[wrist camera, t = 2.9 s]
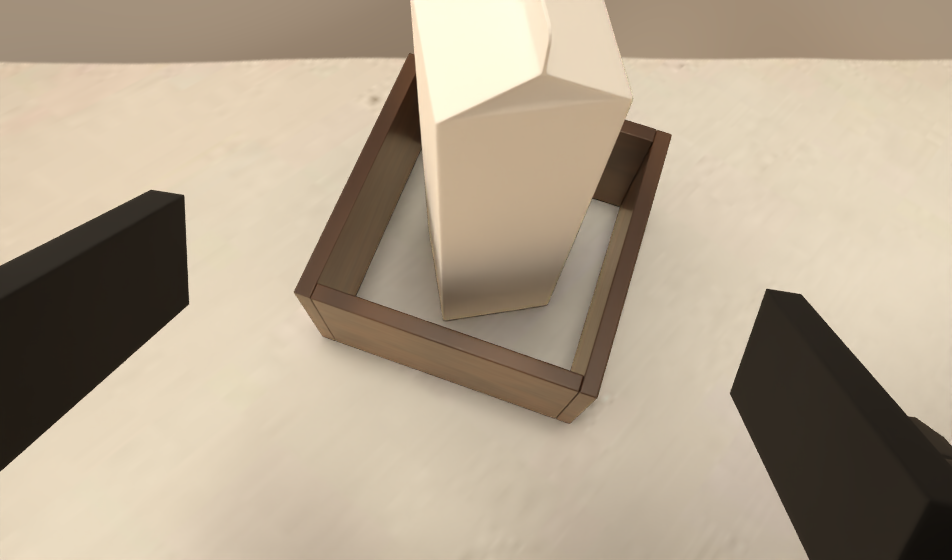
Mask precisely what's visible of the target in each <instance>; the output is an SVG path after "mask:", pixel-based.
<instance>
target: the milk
mask: <svg viewBox="0 0 952 560" xmlns="http://www.w3.org/2000/svg"><path fill="white" fill-rule="evenodd" d="M410 1H411V13H412V27H413V40H414V53H415V65H416V78H417V91H418V104H419V116H420V129H421V142H422V155H423V167H424V180H425V193H426V206H427V218H428V228H429V235H430V241H431V247H432V254H433V260H434V266H435V272H436V279H437V285H438V291H439V298H440V304H441V310H442V316H443V320H452V319H459V318H465V317H472V316H479V315H485V314H492V313H498V312H505V311H512V310H518V309H525V308H531V307H538V306H545V305H548V303H549V300H550V298H551V296H552V293H553V291H554V288H555V286H556V284H557V281H558V279H559V277H560V274H561V272H562V269H563V267H564V265H565V262H566V260H567V257H568V255H569V253H570V250H571V248H572V245H573V243H574V241H575V238H576V236H577V233H578V231H579V229H580V226H581V224H582V221H583V219H584V217H585V214H586V212H587V209H588V207H589V205H590V202H591V200H592V197H593V195H594V193H595V190H596V188H597V185H598V183H599V181H600V178H601V176H602V173H603V171H604V169H605V166H606V164H607V161H608V159H609V157H610V154H611V152H612V149H613V147H614V145H615V142H616V140H617V137H618V135H619V133H620V130H621V128H622V125H623V123H624V121H625V118H626V116H627V113H628V111H629V109H630V106H631V104H632V101H633V95H632V91H631V88H630V85H629V82H628V78H627V75H626V72H625V68H624V65H623V62H622V58H621V55H620V52H619V49H618V45H617V42H616V39H615V35H614V32H613V29H612V26H611V23H610V19H609V16H608V12H607V9H606V6H605V2H604V0H410Z"/></svg>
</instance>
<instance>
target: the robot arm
mask: <svg viewBox="0 0 952 560" xmlns="http://www.w3.org/2000/svg"><path fill="white" fill-rule="evenodd" d="M188 305H189V292H188V269H187V246H186V224H185V201H184V195H180V194H174V193H168V192H162V191H155V190H150V191H148V192H146V193H144V194H142V195H140V196H138V197H136V198H134V199H132V200H130V201H128V202H126V203H124V204H122V205H120V206H118V207H116V208H114V209H112V210H110V211H108V212H106V213H104V214H102V215H100V216H98V217H96V218H94V219H92V220H90V221H88V222H86V223H84V224H82V225H80V226H78V227H76V228H74V229H72V230H70V231H68V232H66V233H64V234H62V235H60V236H59V237H57V238H55V239H53V240H51V241H49V242H47V243H45V244H43V245H41V246H39V247H37V248H35V249H33V250H31V251H29V252H27V253H25V254H23V255H21V256H19V257H17V258H15V259H13V260H11V261H9V262H7V263H5V264H3V265H1V266H0V471H1V470H3V469H4V468H5V467H6V466H7V465H8V464H9V463H10V462H12V461H13V460H14V459H15V458H16V457H17V456H18V455H20V454H21V453H22V452H23V451H24V450H25V449H26V448H27V447H29V446H30V445H31V444H32V443H33V442H34V441H35V440H36V439H38V438H39V437H40V436H41V435H42V434H43V433H44V432H45V431H47V430H48V429H49V428H50V427H51V426H52V425H53V424H54V423H56V422H57V421H58V420H59V419H60V418H61V417H62V416H64V415H65V414H66V413H67V412H68V411H69V410H70V409H71V408H73V407H74V406H75V405H76V404H77V403H78V402H79V401H80V400H82V399H83V398H84V397H85V396H86V395H87V394H88V393H89V392H91V391H92V390H93V389H94V388H95V387H96V386H97V385H98V384H100V383H101V382H102V381H103V380H104V379H105V378H106V377H107V376H109V375H110V374H111V373H112V372H113V371H114V370H115V369H117V368H118V367H119V366H120V365H121V364H122V363H123V362H124V361H126V360H127V359H128V358H129V357H130V356H131V355H132V354H133V353H135V352H136V351H137V350H138V349H139V348H140V347H141V346H142V345H144V344H145V343H146V342H147V341H148V340H149V339H150V338H151V337H153V336H154V335H155V334H156V333H157V332H158V331H159V330H160V329H162V328H163V327H164V326H165V325H166V324H167V323H168V322H170V321H171V320H172V319H173V318H174V317H175V316H176V315H177V314H179V313H180V312H181V311H182V310H183V309H184V308H185V307H186V306H188ZM730 395H731V397H732V399H733V401H734V403H735V405H736V407H737V409H738V411H739V413H740V416H741V418H742V420H743V422H744V424H745V426H746V428H747V430H748V432H749V434H750V436H751V439H752V441H753V443H754V445H755V447H756V449H757V451H758V453H759V455H760V457H761V459H762V461H763V464H764V466H765V468H766V470H767V472H768V474H769V476H770V478H771V480H772V482H773V484H774V487H775V489H776V491H777V493H778V495H779V497H780V499H781V501H782V503H783V505H784V507H785V510H786V512H787V514H788V516H789V518H790V520H791V522H792V524H793V526H794V528H795V530H796V533H797V535H798V537H799V539H800V541H801V543H802V545H803V547H804V549H805V551H806V553H807V556H808V558H809V560H952V446H951V445H950V444H949V443H948V441H947V440H946V439H945V438H944V437H943V436H941V435H940V434H938V433H937V432H935V431H934V430H933V429H931V428H930V427H928V426H927V425H926V424H924V423H923V422H921V421H920V420H918V419H917V418H915V417H909V416H907V415H906V414H905V412H904V411H903V410H902V409H901V408H900V407H899V406H898V404H897V403H896V402H895V401H894V400H893V399H892V398H891V396H890V395H889V394H888V393H887V392H886V391H885V390H884V388H883V387H882V386H881V385H880V384H879V383H878V382H877V380H876V379H875V378H874V377H873V376H872V375H871V374H870V372H869V371H868V370H867V369H866V368H865V367H864V365H863V364H862V363H861V362H860V361H859V360H858V359H857V357H856V356H855V355H854V354H853V353H852V352H851V351H850V349H849V348H848V347H847V346H846V345H845V344H844V343H843V341H842V340H841V339H840V338H839V337H838V336H837V335H836V333H835V332H834V331H833V330H832V329H831V328H830V327H829V325H828V324H827V323H826V322H825V321H824V320H823V319H822V317H821V316H820V315H819V314H818V313H817V312H816V311H815V309H814V308H813V307H812V306H811V305H810V304H809V303H808V301H807V300H806V299H805V298H804V297H803V296H802V295H801V294H796V293H790V292H784V291H777V290H771V289H766V292H765V295H764V297H763V300H762V303H761V306H760V309H759V312H758V315H757V317H756V320H755V323H754V326H753V329H752V332H751V335H750V337H749V340H748V343H747V346H746V349H745V352H744V355H743V357H742V360H741V363H740V366H739V369H738V372H737V375H736V377H735V380H734V383H733V386H732V389H731V392H730Z"/></svg>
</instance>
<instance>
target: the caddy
mask: <svg viewBox="0 0 952 560" xmlns="http://www.w3.org/2000/svg"><path fill="white" fill-rule="evenodd" d="M671 136H672V135H671V134H669V133H666V132H662V131H659V130H657V131H656V129H654V128H650V127H647V126H644V125H641V124H637V123H634V122H631V121H628V120H625V121H624V123H623V125H622V128H621V130H620V133H619V135H618V137H617V140H616V142H615V145H614V147H613V149H612V152H611V154H610V157H609V159H608V161H607V164H606V166H605V169H604V171H603V173H602V176H601V178H600V181H599V183H598V185H597V188H596V190H595V193H594V195H593V197H592V198H595V199H598V200H601V201H604V202H607V203H610V204H613V205H616V206H620V209H619V212H618V215H617V219H616V222H615V225H614V229H613V232H612V235H611V239H610V242H609V245H608V248H607V252H606V255H605V258H604V262H603V265H602V268H601V272H600V275H599V278H598V281H597V285H596V288H595V291H594V295H593V298H592V301H591V305H590V308H589V311H588V314H587V318H586V321H585V324H584V328H583V331H582V334H581V338H580V341H579V344H578V347H577V351H576V354H575V357H574V361H573V364H572V367H571V371H569V370H567V369H564V368H561V367H558V366H555V365H552V364H549V363H546V362H544V361H541V360H538V359H535V358H532V357H529V356H526V355H523V354H520V353H518V352H515V351H512V350H509V349H506V348H503V347H500V346H497V345H495V344H492V343H489V342H486V341H483V340H480V339H477V338H474V337H472V336H469V335H466V334H463V333H460V332H457V331H454V330H451V329H448V328H446V327H443V326H440V325H437V324H434V323H431V322H428V321H425V320H423V319H420V318H417V317H414V316H411V315H408V314H405V313H402V312H400V311H397V310H394V309H391V308H388V307H385V306H382V305H379V304H376V303H374V302H371V301H368V300H365V299H362V298H359V297H356V294H357V292H358V289H359V287H360V285H361V283H362V280H363V278H364V276H365V274H366V271H367V269H368V267H369V265H370V262H371V260H372V258H373V256H374V253H375V251H376V249H377V247H378V244H379V242H380V240H381V238H382V235H383V233H384V231H385V229H386V227H387V224H388V222H389V220H390V218H391V215H392V213H393V211H394V209H395V206H396V204H397V202H398V200H399V197H400V195H401V193H402V191H403V188H404V186H405V184H406V182H407V179H408V177H409V175H410V173H411V170H412V168H413V166H414V164H415V161H416V159H417V157H418V155H419V152H420V150H421V148H422V142H421V129H420V116H419V104H418V91H417V78H416V65H415V55H414V54H411V53H409V55H408V57H407V59H406V61H405V63H404V65H403V67H402V69H401V71H400V73H399V75H398V77H397V79H396V82H395V84H394V86H393V88H392V90H391V92H390V94H389V96H388V98H387V100H386V102H385V104H384V106H383V108H382V111H381V113H380V115H379V117H378V119H377V121H376V123H375V125H374V127H373V129H372V131H371V133H370V135H369V137H368V140H367V142H366V144H365V146H364V148H363V150H362V152H361V154H360V156H359V158H358V160H357V162H356V164H355V166H354V168H353V171H352V173H351V175H350V177H349V179H348V181H347V183H346V185H345V187H344V189H343V191H342V193H341V195H340V197H339V200H338V202H337V204H336V206H335V208H334V210H333V212H332V214H331V216H330V218H329V220H328V222H327V224H326V226H325V229H324V231H323V233H322V235H321V237H320V239H319V241H318V243H317V245H316V247H315V249H314V251H313V253H312V255H311V258H310V260H309V262H308V264H307V266H306V268H305V270H304V272H303V274H302V276H301V278H300V280H299V282H298V284H297V286H296V289H295V291H294V293H295V295H296V296H297V298H298V300H299V301H300V303H301V304H302V306H303V307H304V309H305V310H306V312H307V313H308V315H309V316H310V318H311V319H312V321H313V322H314V324H315V325H316V327H317V328H318V330H319V331H320V333H321V335H322V336H323V337H326V338H329V339H332V340H336V341H338V342H341V343H343V344H346V345H349V346H352V347H355V348H357V349H360V350H363V351H366V352H369V353H372V354H374V355H377V356H380V357H383V358H386V359H388V360H391V361H394V362H397V363H400V364H403V365H405V366H408V367H411V368H414V369H417V370H419V371H422V372H425V373H428V374H431V375H434V376H436V377H439V378H442V379H445V380H448V381H450V382H453V383H456V384H459V385H462V386H465V387H467V388H470V389H473V390H476V391H479V392H481V393H484V394H487V395H490V396H493V397H496V398H498V399H501V400H504V401H507V402H510V403H512V404H515V405H518V406H521V407H524V408H527V409H529V410H532V411H535V412H538V413H541V414H543V415H546V416H549V417H552V418H556V419H558V420H560V421H563V422H566V423H571V422H572V421H573V420H574V419H575V418H576V417H578V416H579V415H580V414H581V413H582V412H583V411H584V410H585V409H586V408H587V407H588V406H589V405H590V404H591V403H592V402H593V401H595V400H596V399H597V397H598V394H599V391H600V387H601V384H602V380H603V377H604V373H605V369H606V366H607V362H608V359H609V355H610V352H611V348H612V345H613V341H614V338H615V334H616V331H617V327H618V324H619V320H620V317H621V313H622V309H623V306H624V302H625V299H626V295H627V292H628V288H629V285H630V281H631V278H632V274H633V271H634V267H635V264H636V260H637V257H638V253H639V249H640V246H641V242H642V239H643V235H644V232H645V228H646V225H647V221H648V218H649V214H650V211H651V207H652V204H653V200H654V197H655V193H656V189H657V186H658V182H659V179H660V175H661V172H662V168H663V165H664V161H665V158H666V154H667V151H668V147H669V144H670V140H671Z"/></svg>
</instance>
